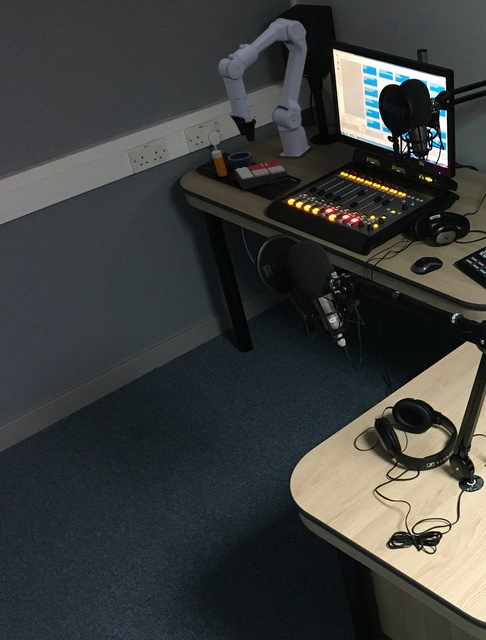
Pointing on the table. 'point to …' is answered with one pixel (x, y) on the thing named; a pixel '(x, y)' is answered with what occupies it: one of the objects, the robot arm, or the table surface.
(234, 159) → the dark blue round bowl
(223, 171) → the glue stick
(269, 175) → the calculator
